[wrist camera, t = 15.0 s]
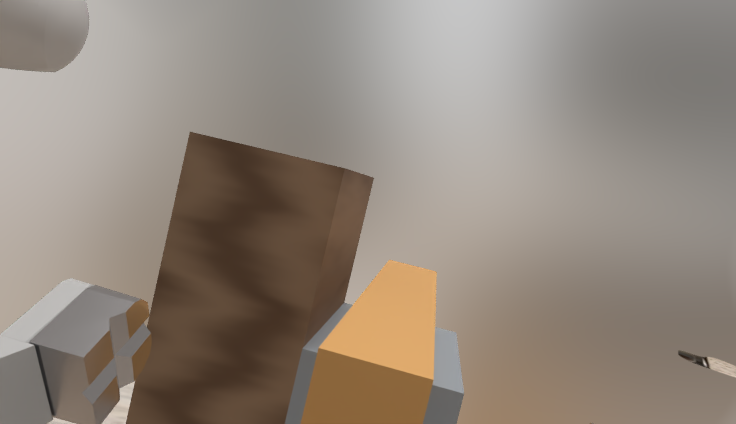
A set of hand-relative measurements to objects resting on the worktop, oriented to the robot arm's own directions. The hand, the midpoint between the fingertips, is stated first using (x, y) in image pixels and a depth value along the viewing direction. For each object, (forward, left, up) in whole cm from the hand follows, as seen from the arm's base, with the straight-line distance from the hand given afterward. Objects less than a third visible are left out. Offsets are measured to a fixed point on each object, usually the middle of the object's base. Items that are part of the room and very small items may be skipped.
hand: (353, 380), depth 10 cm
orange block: (0, +18, -5) cm, 19 cm away
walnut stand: (-8, +22, -22) cm, 32 cm away
